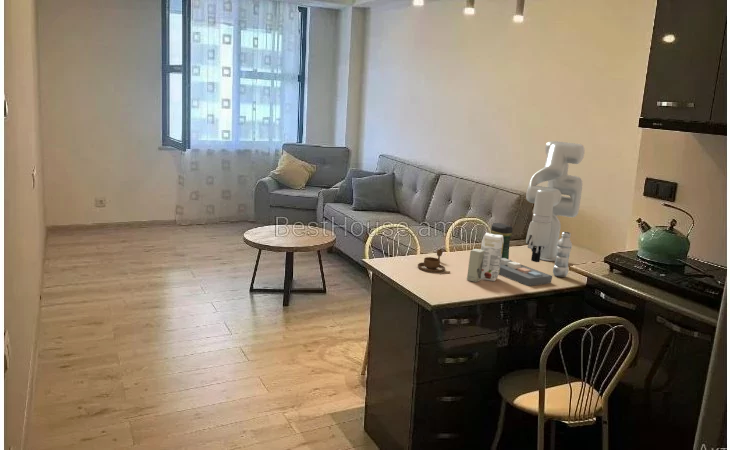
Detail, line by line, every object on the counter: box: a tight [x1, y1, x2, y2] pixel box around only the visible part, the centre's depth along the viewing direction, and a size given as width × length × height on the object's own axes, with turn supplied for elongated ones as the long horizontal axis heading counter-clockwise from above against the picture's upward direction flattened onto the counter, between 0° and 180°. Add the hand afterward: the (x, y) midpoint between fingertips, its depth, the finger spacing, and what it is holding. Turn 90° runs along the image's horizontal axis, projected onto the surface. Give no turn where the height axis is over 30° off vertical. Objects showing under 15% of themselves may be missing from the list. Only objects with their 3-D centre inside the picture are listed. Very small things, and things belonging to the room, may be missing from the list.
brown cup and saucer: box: [417, 249, 451, 275], centre depth 279 cm, size 18×20×6 cm
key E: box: [528, 271, 542, 277], centre depth 270 cm, size 4×4×2 cm
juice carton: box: [480, 232, 504, 282], centre depth 268 cm, size 8×9×19 cm
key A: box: [507, 261, 522, 269], centre depth 280 cm, size 4×4×2 cm
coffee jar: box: [490, 222, 513, 260], centre depth 296 cm, size 10×8×19 cm
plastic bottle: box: [552, 231, 573, 278], centre depth 282 cm, size 6×7×20 cm
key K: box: [501, 258, 512, 265], centre depth 284 cm, size 4×4×2 cm
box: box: [466, 248, 484, 283], centre depth 264 cm, size 5×4×13 cm
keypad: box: [499, 260, 553, 287], centre depth 278 cm, size 14×25×3 cm, turn 33°
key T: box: [517, 268, 531, 274], centre depth 275 cm, size 4×4×2 cm
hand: (535, 261), depth 269 cm, fingers closed
